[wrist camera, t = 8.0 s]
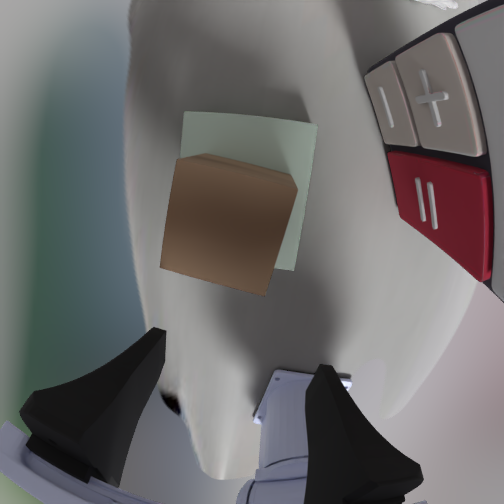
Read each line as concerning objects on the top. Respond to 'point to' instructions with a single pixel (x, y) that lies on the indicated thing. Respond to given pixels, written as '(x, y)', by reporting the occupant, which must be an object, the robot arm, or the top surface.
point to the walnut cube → (226, 221)
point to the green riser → (259, 156)
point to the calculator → (450, 136)
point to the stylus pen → (441, 3)
